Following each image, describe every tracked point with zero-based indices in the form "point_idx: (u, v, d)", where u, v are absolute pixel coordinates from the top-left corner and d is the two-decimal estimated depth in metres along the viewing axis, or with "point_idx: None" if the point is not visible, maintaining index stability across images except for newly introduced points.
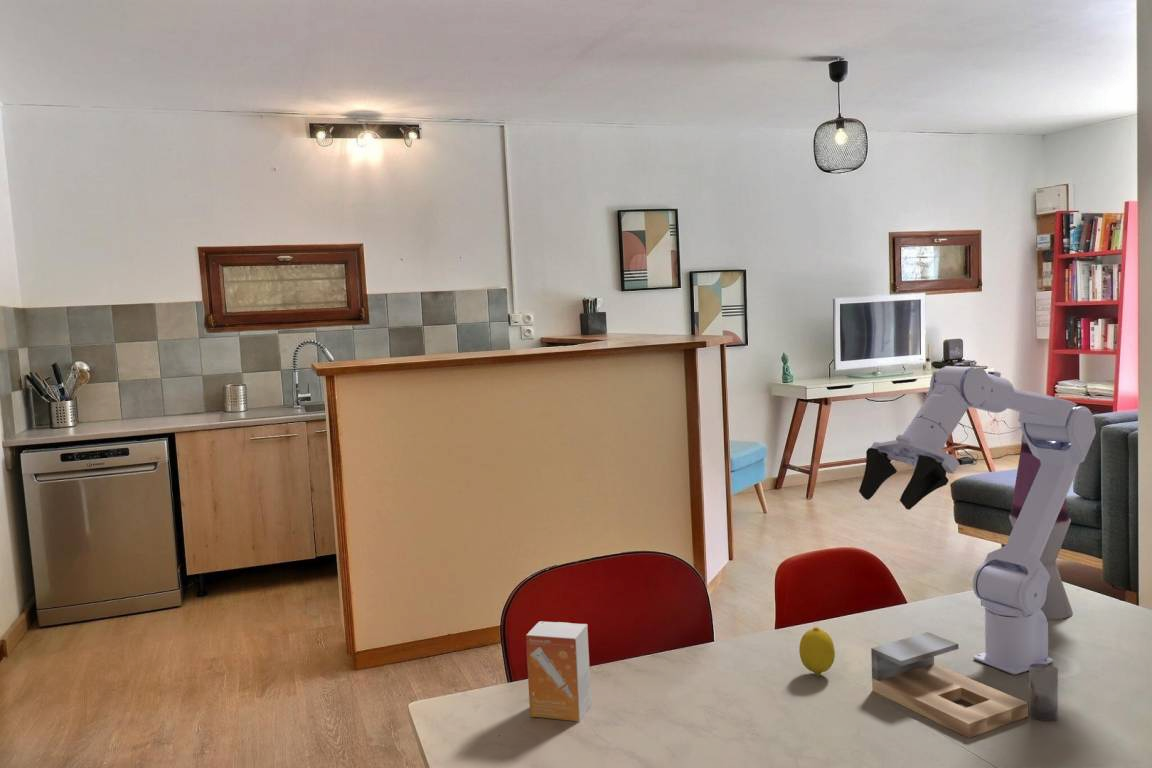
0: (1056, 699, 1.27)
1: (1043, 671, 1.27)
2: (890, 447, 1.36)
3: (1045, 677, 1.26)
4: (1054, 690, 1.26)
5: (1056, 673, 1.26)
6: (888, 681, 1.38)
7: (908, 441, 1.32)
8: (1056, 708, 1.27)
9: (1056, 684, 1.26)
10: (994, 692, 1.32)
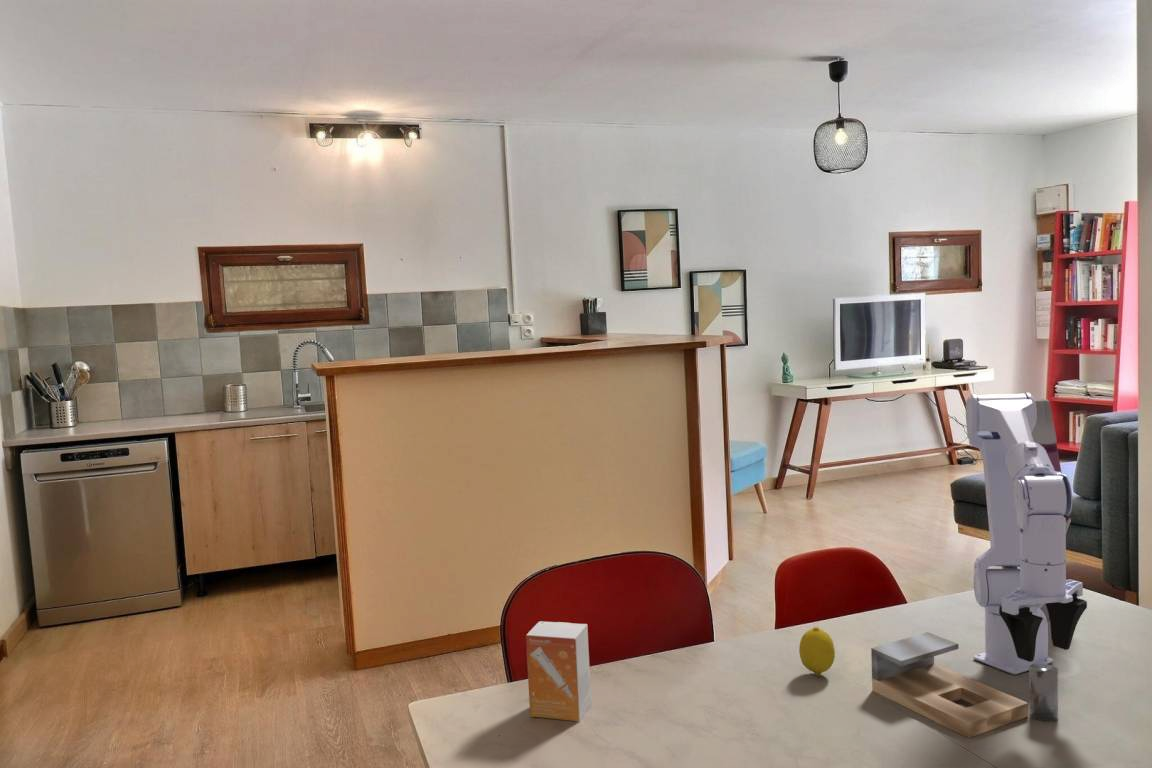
0: (1056, 699, 1.27)
1: (1043, 671, 1.27)
2: None
3: (1045, 677, 1.26)
4: (1054, 690, 1.26)
5: (1056, 673, 1.26)
6: (888, 681, 1.38)
7: None
8: (1056, 708, 1.27)
9: (1056, 684, 1.26)
10: (994, 692, 1.32)
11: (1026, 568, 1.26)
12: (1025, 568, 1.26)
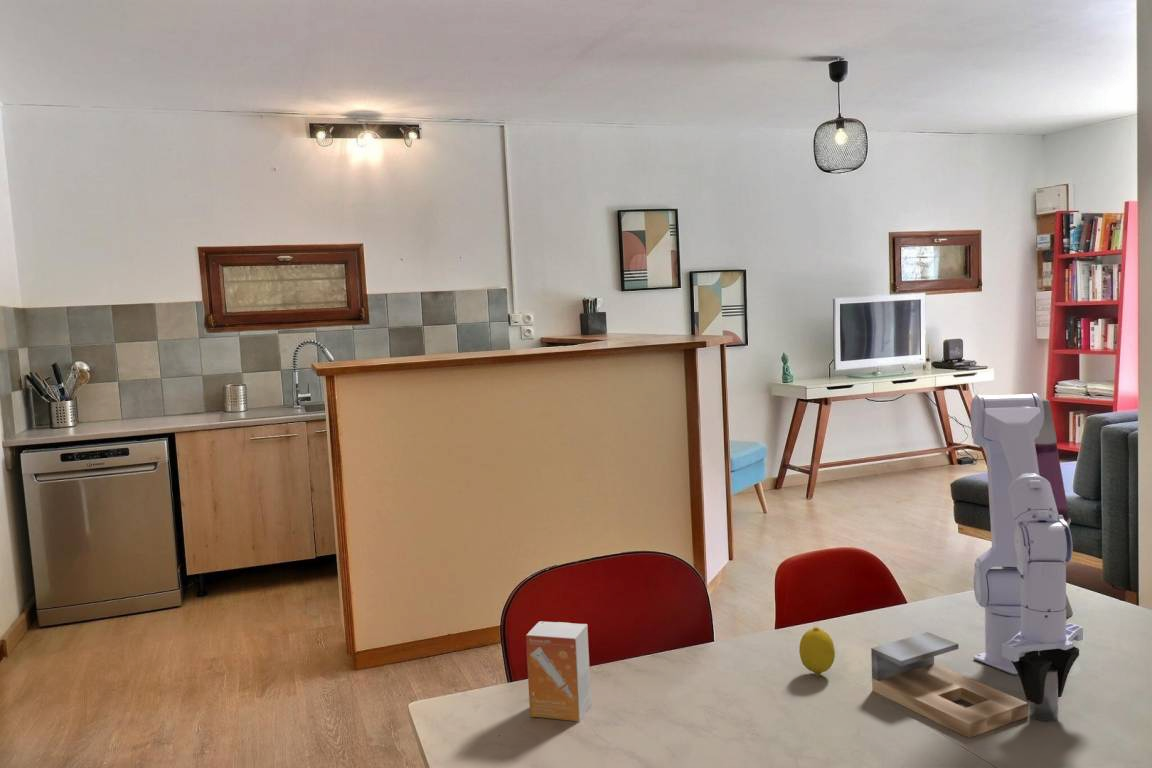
0: (1056, 699, 1.27)
1: None
2: None
3: None
4: (1054, 690, 1.26)
5: (1056, 673, 1.26)
6: (888, 681, 1.38)
7: None
8: (1056, 708, 1.27)
9: (1056, 684, 1.26)
10: (994, 692, 1.32)
11: (1026, 614, 1.26)
12: (1025, 614, 1.26)
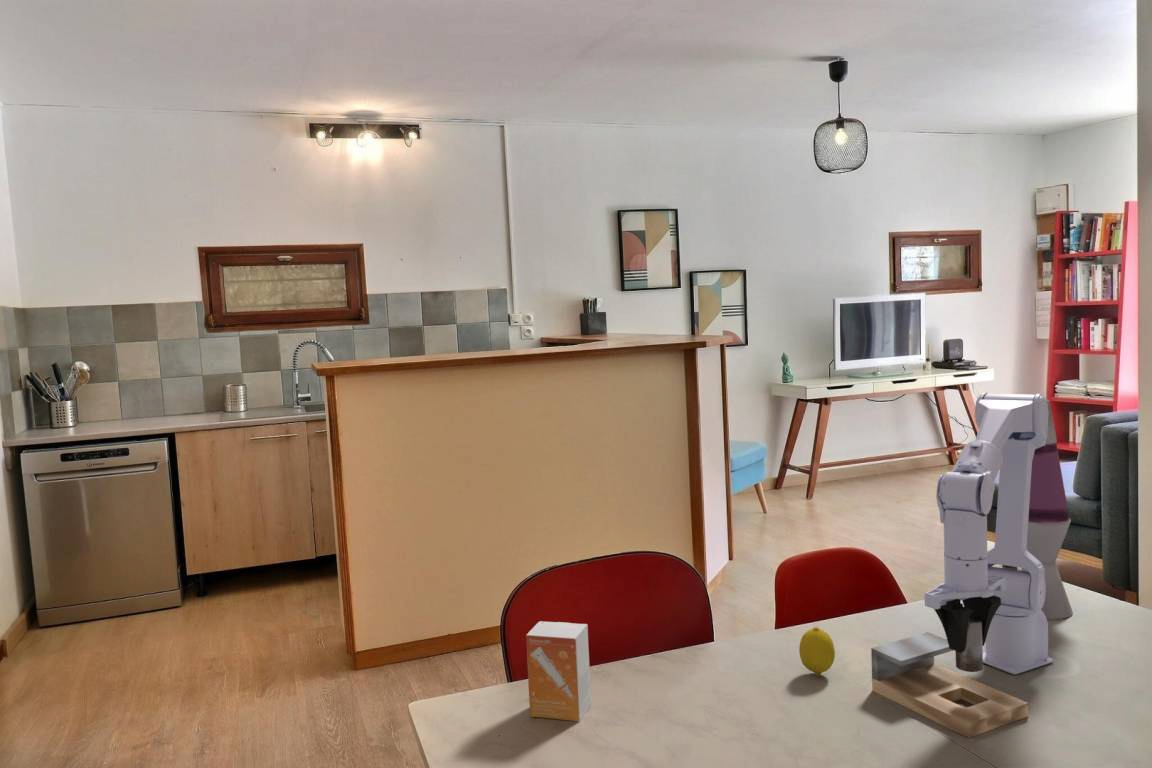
0: (981, 649, 1.28)
1: (968, 622, 1.29)
2: None
3: (970, 628, 1.28)
4: (979, 640, 1.28)
5: (980, 623, 1.28)
6: (888, 681, 1.38)
7: None
8: (981, 658, 1.29)
9: (981, 634, 1.28)
10: (994, 692, 1.32)
11: (949, 563, 1.28)
12: (948, 563, 1.28)
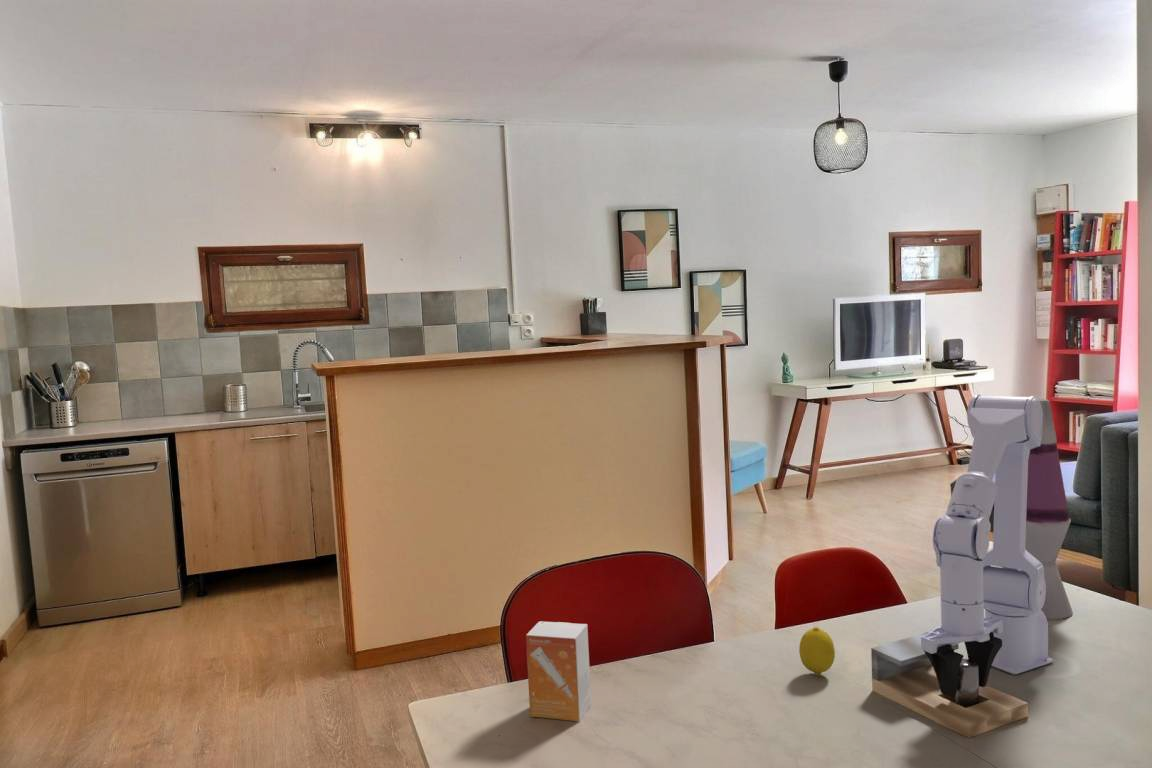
0: (977, 693, 1.29)
1: (965, 666, 1.29)
2: None
3: (966, 673, 1.29)
4: (975, 684, 1.29)
5: (977, 668, 1.29)
6: (888, 681, 1.38)
7: None
8: (977, 702, 1.29)
9: (977, 679, 1.29)
10: (994, 692, 1.32)
11: (945, 607, 1.29)
12: (944, 607, 1.29)
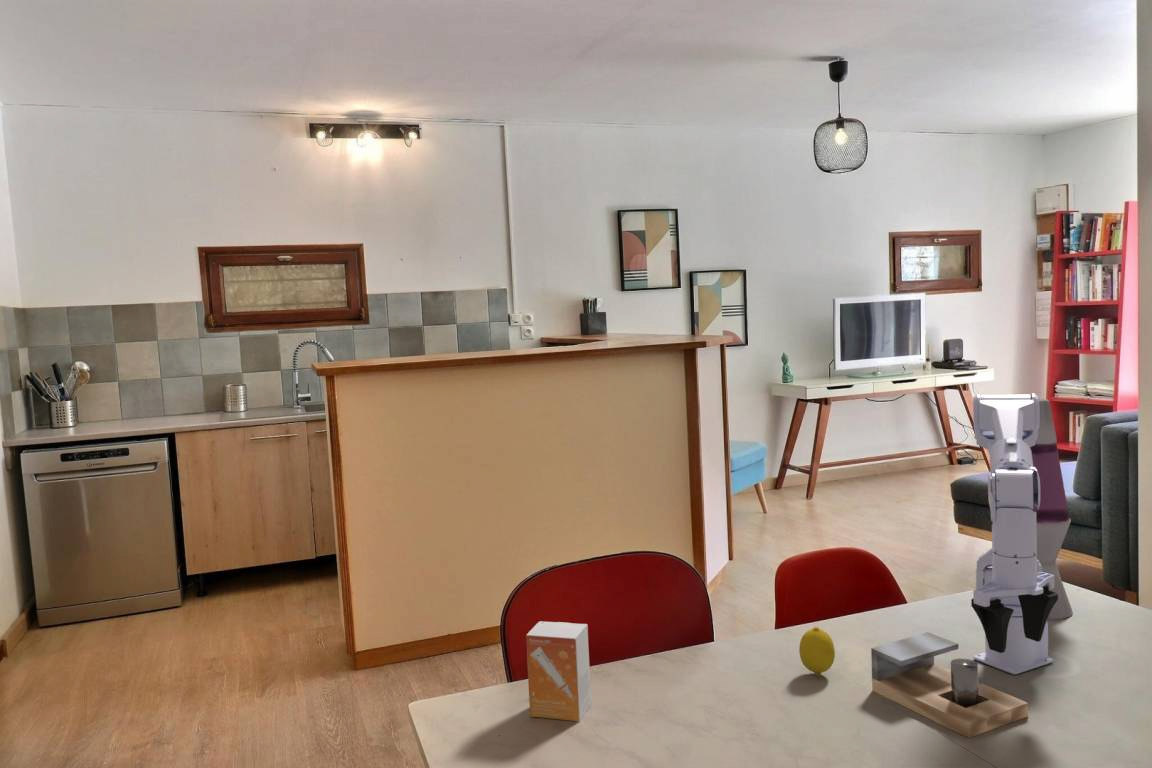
0: (977, 693, 1.29)
1: (964, 666, 1.29)
2: None
3: (966, 672, 1.29)
4: (975, 684, 1.29)
5: (976, 667, 1.29)
6: (888, 681, 1.38)
7: None
8: (977, 702, 1.29)
9: (976, 678, 1.29)
10: (994, 692, 1.32)
11: (998, 561, 1.27)
12: (997, 561, 1.28)
